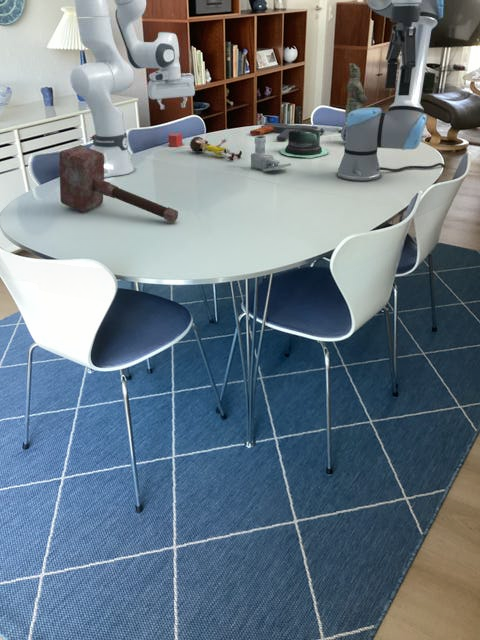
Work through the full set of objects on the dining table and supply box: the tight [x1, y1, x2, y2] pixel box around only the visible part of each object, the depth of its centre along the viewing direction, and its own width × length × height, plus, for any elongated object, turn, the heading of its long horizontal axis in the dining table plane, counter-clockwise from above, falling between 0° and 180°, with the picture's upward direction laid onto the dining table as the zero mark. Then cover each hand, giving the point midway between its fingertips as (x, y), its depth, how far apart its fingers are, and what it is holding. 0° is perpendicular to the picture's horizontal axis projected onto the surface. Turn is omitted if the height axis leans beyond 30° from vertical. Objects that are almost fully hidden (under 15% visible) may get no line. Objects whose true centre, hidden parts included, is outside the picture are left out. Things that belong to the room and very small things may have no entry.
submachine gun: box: [249, 122, 325, 141], centre depth 263 cm, size 32×3×25 cm
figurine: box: [189, 136, 243, 162], centre depth 232 cm, size 13×8×25 cm
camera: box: [250, 134, 292, 173], centre depth 210 cm, size 9×12×15 cm
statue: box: [344, 62, 368, 123], centre depth 262 cm, size 11×9×30 cm
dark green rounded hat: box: [279, 128, 328, 159], centre depth 234 cm, size 15×19×20 cm
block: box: [167, 132, 183, 148], centre depth 250 cm, size 4×5×5 cm
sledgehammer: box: [59, 144, 179, 223], centre depth 170 cm, size 17×10×40 cm
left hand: (173, 108), depth 243 cm, fingers open, 8 cm apart
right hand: (396, 91), depth 157 cm, fingers open, 13 cm apart
